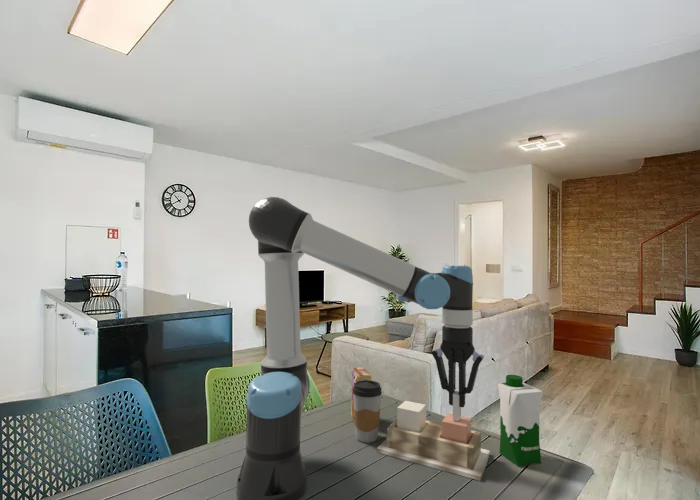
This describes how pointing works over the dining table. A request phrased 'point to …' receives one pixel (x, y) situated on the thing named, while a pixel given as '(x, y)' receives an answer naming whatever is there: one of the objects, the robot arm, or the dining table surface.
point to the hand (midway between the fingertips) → (457, 418)
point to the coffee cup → (366, 410)
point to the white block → (411, 416)
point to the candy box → (358, 375)
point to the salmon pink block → (456, 429)
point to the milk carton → (519, 421)
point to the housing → (436, 450)
